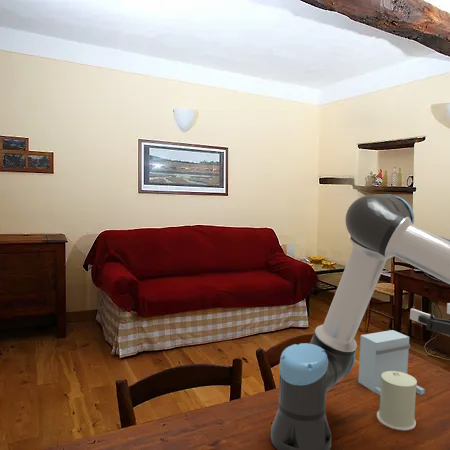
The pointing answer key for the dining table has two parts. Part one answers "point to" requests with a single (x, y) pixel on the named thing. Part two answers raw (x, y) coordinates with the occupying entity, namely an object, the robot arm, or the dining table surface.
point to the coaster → (395, 426)
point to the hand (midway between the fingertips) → (429, 310)
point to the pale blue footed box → (382, 358)
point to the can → (397, 398)
